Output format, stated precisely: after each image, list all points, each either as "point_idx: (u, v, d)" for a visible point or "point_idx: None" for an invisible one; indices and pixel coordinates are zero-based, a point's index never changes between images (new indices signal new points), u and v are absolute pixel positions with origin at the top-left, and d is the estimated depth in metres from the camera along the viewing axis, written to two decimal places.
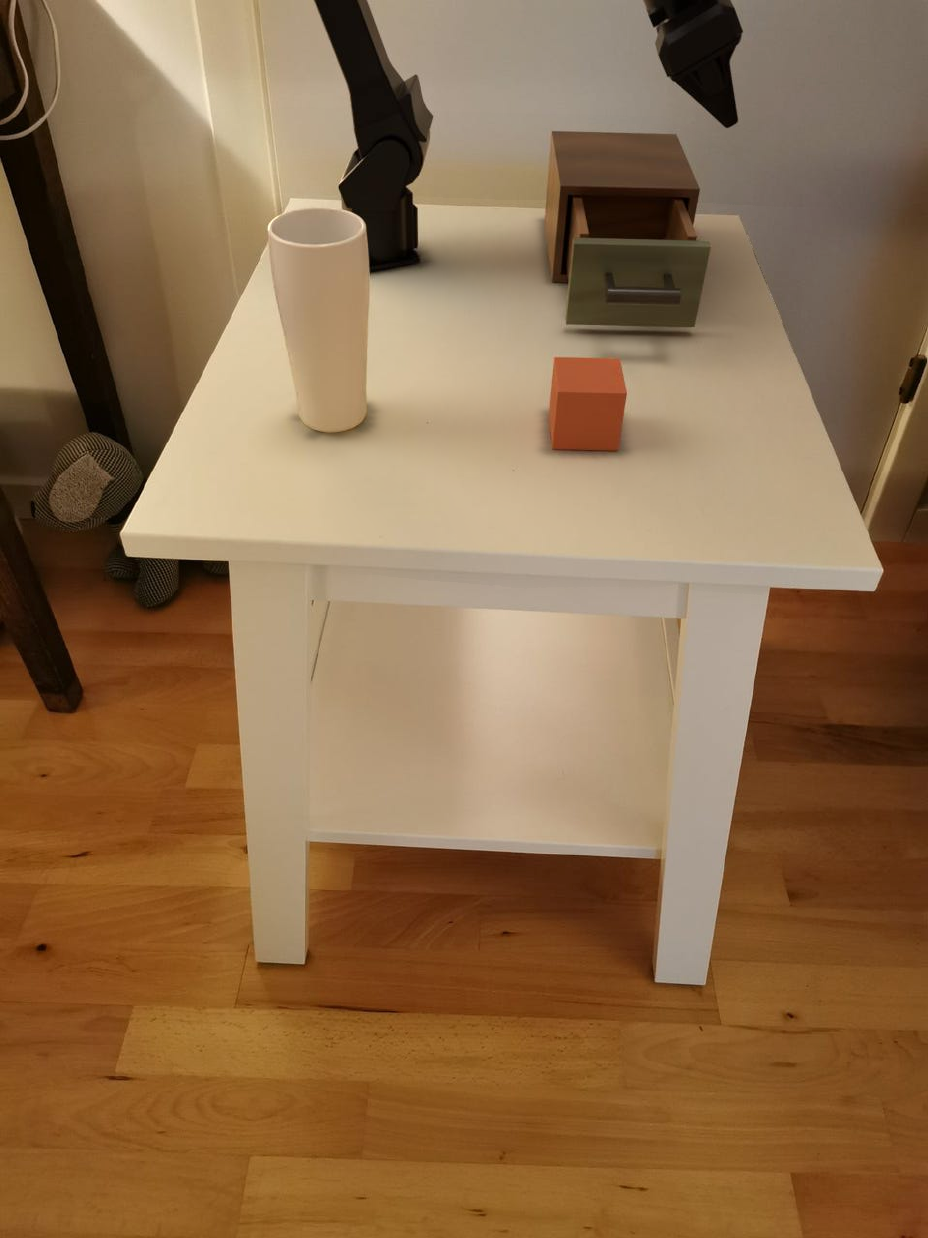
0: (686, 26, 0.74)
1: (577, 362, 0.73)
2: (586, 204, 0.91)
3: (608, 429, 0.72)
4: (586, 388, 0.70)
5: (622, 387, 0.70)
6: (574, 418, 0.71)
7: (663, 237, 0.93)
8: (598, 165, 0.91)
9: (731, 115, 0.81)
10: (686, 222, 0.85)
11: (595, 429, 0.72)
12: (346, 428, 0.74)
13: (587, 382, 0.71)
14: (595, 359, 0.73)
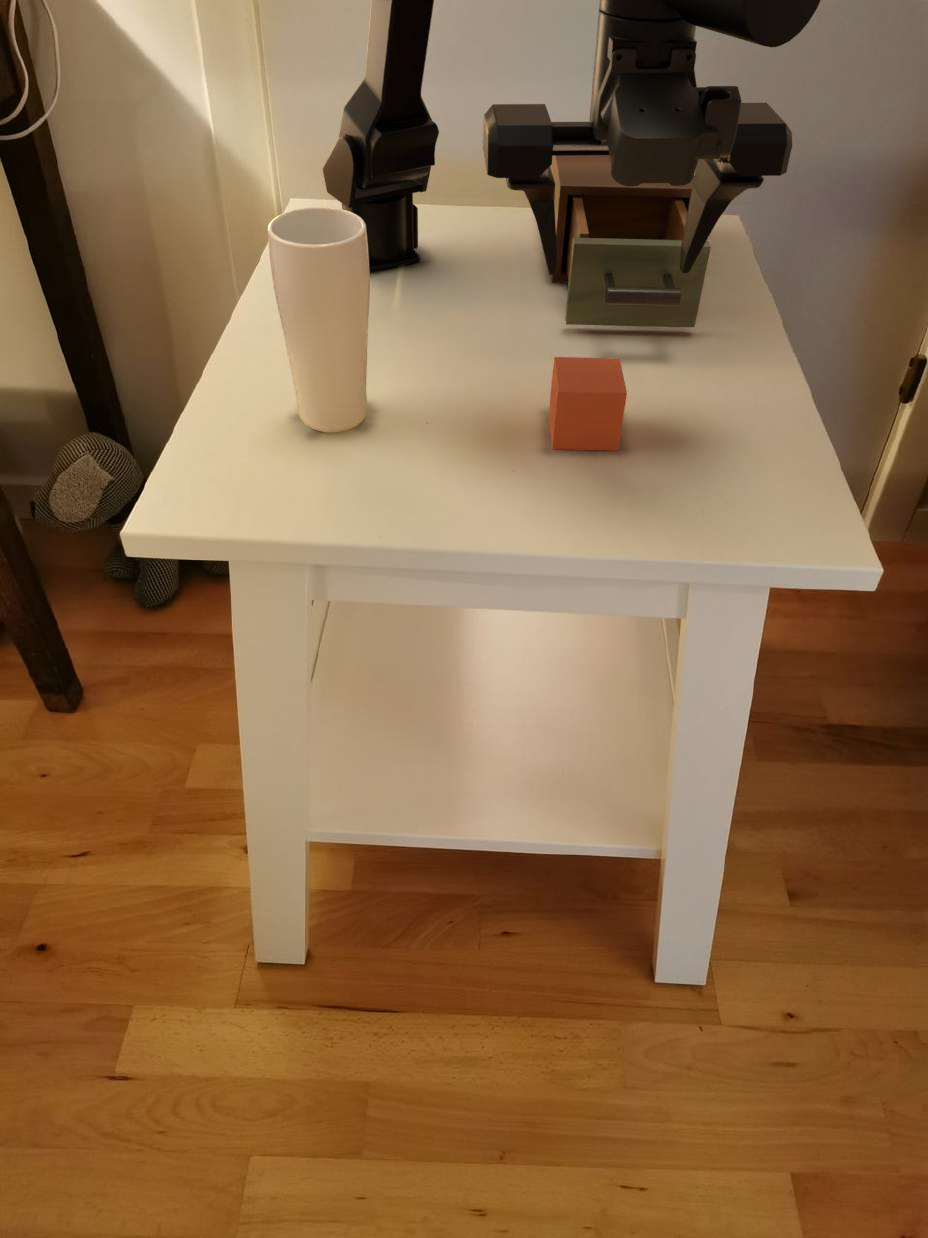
0: (491, 115, 0.60)
1: (577, 362, 0.73)
2: (586, 204, 0.91)
3: (608, 429, 0.72)
4: (586, 388, 0.70)
5: (622, 387, 0.70)
6: (574, 418, 0.71)
7: (663, 237, 0.93)
8: (598, 165, 0.91)
9: None
10: None
11: (595, 429, 0.72)
12: (346, 428, 0.74)
13: (587, 382, 0.71)
14: (595, 359, 0.73)
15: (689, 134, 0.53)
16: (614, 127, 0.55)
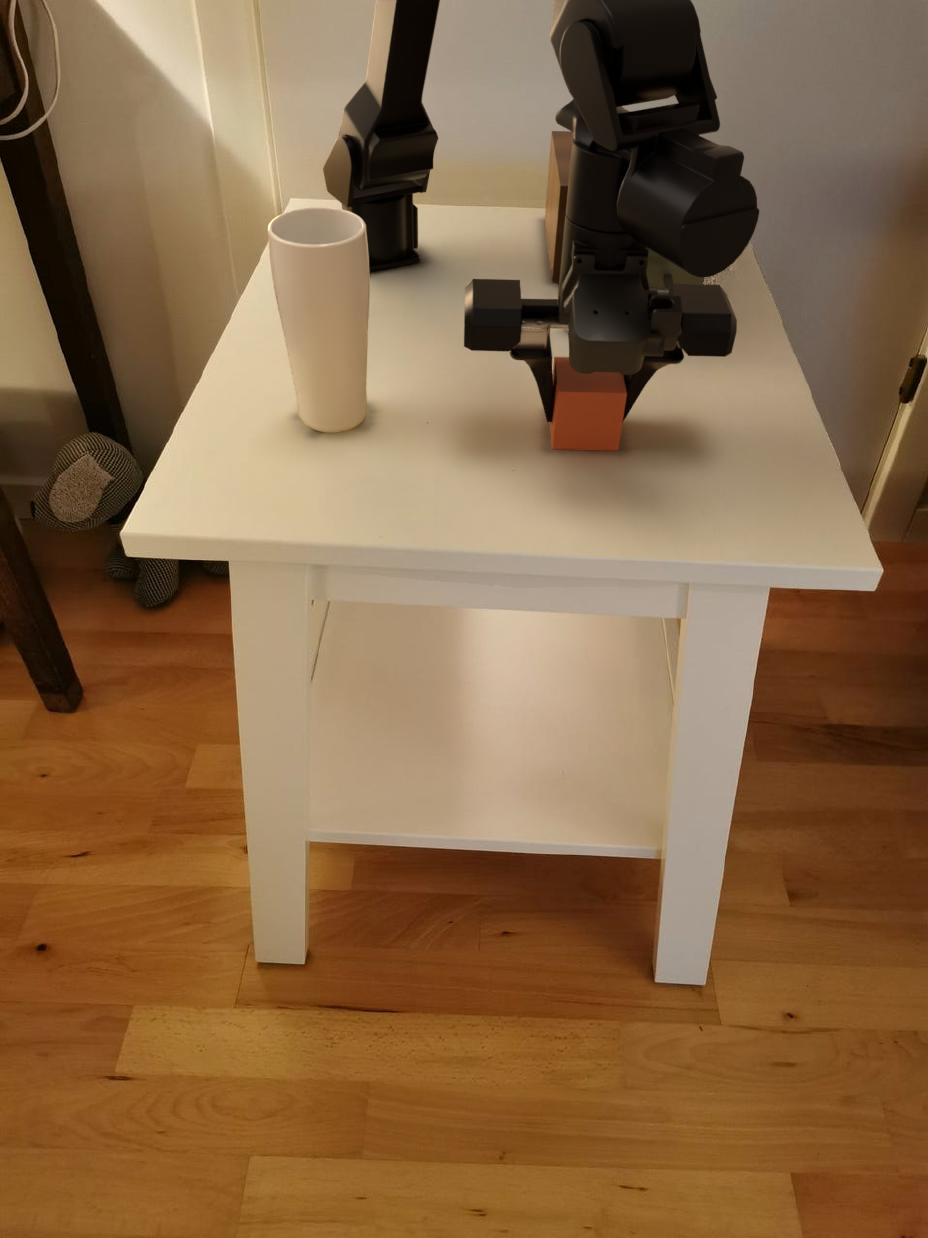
0: (470, 291, 0.68)
1: None
2: None
3: (608, 429, 0.72)
4: (586, 388, 0.70)
5: (622, 387, 0.70)
6: (574, 418, 0.71)
7: None
8: None
9: None
10: None
11: (595, 429, 0.72)
12: (346, 428, 0.74)
13: (587, 382, 0.71)
14: None
15: (635, 338, 0.61)
16: (572, 323, 0.62)
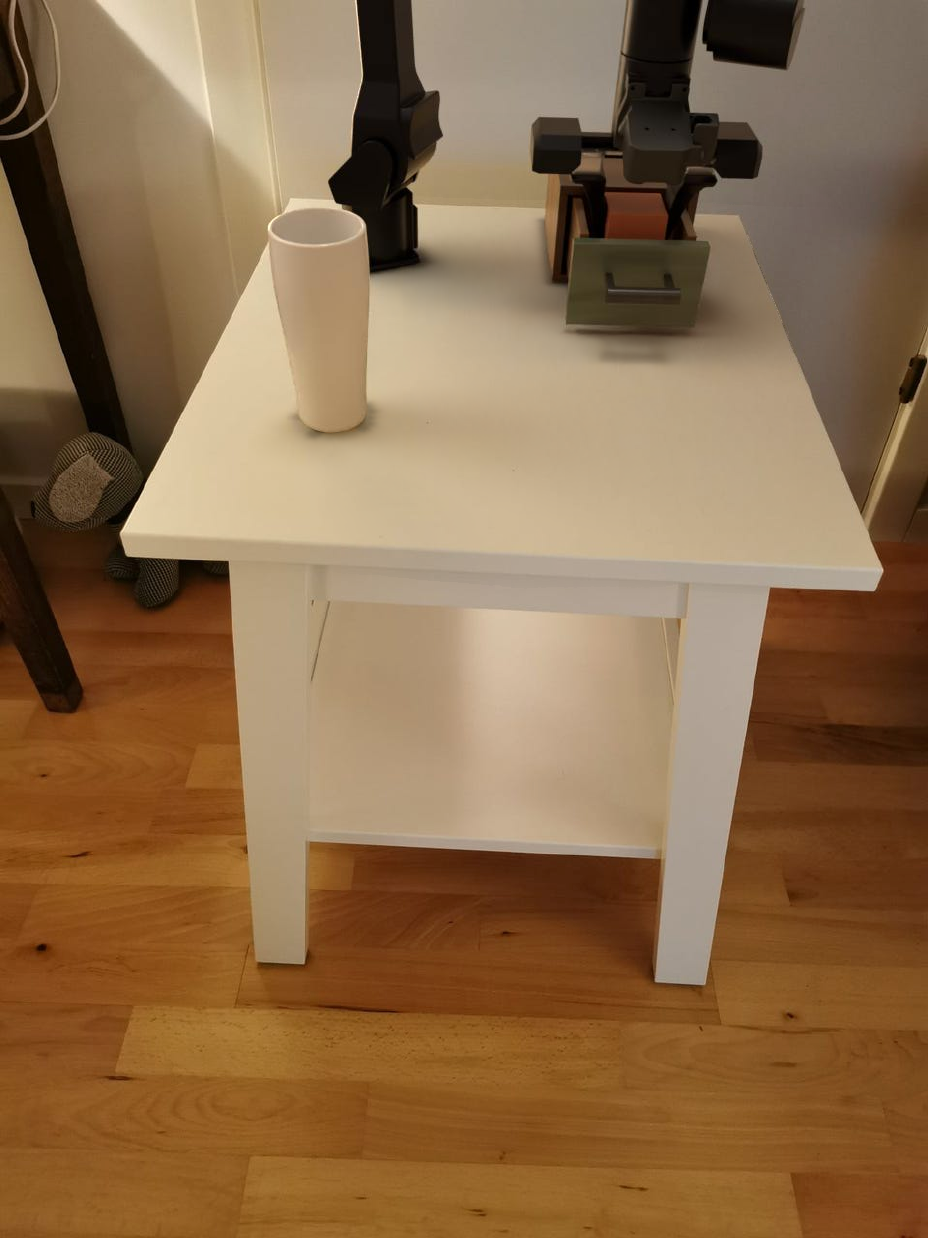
0: (537, 125, 0.80)
1: (624, 196, 0.85)
2: (586, 204, 0.91)
3: None
4: (633, 212, 0.83)
5: (664, 212, 0.83)
6: None
7: None
8: None
9: None
10: (686, 222, 0.85)
11: None
12: (346, 428, 0.74)
13: (634, 208, 0.83)
14: (640, 193, 0.86)
15: (680, 148, 0.73)
16: (626, 140, 0.75)
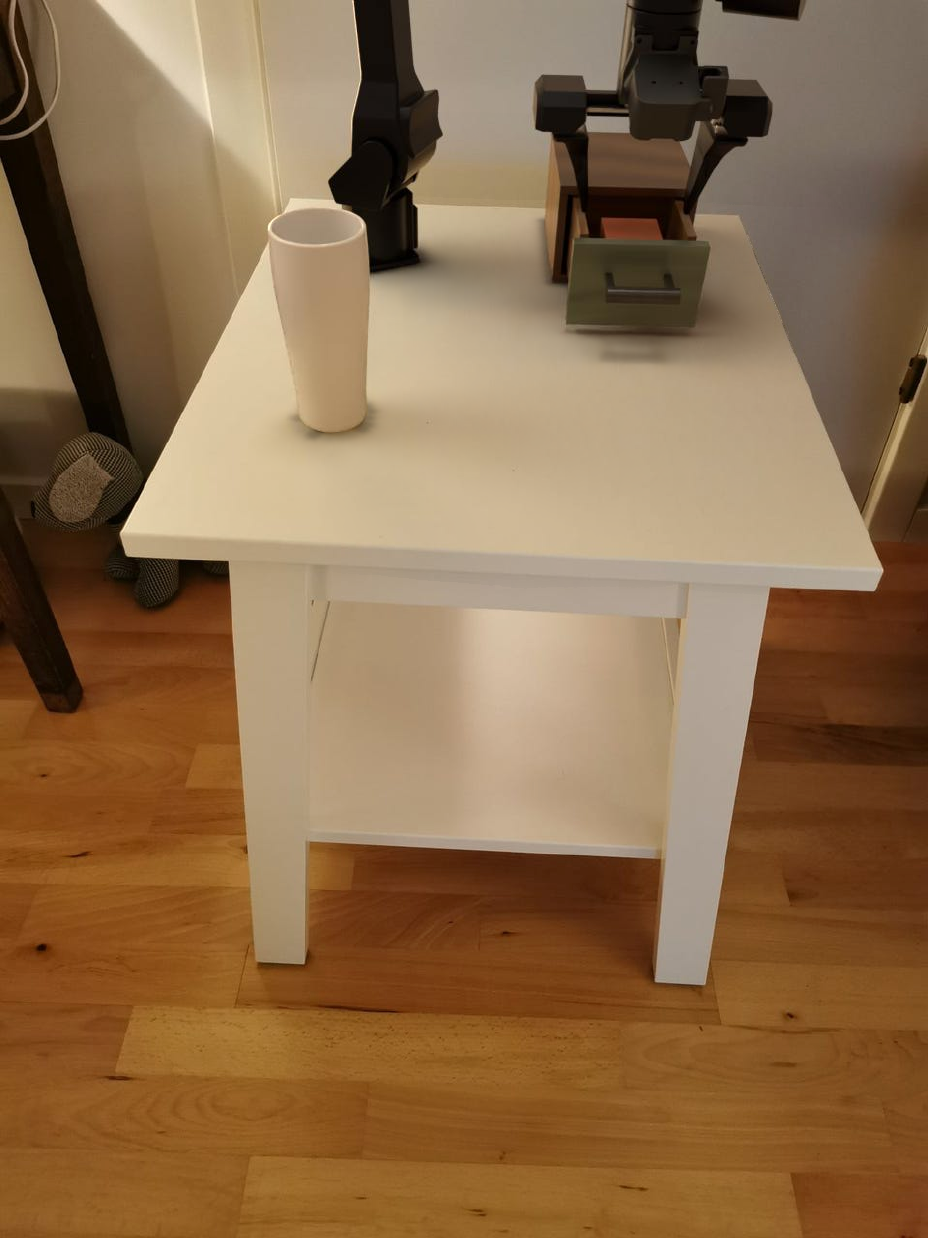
0: (540, 83, 0.78)
1: (621, 221, 0.87)
2: None
3: None
4: (630, 238, 0.84)
5: (660, 238, 0.84)
6: None
7: (663, 237, 0.93)
8: (598, 165, 0.91)
9: None
10: (686, 222, 0.85)
11: None
12: (346, 428, 0.74)
13: (630, 234, 0.85)
14: (636, 219, 0.87)
15: (689, 101, 0.71)
16: (633, 94, 0.73)
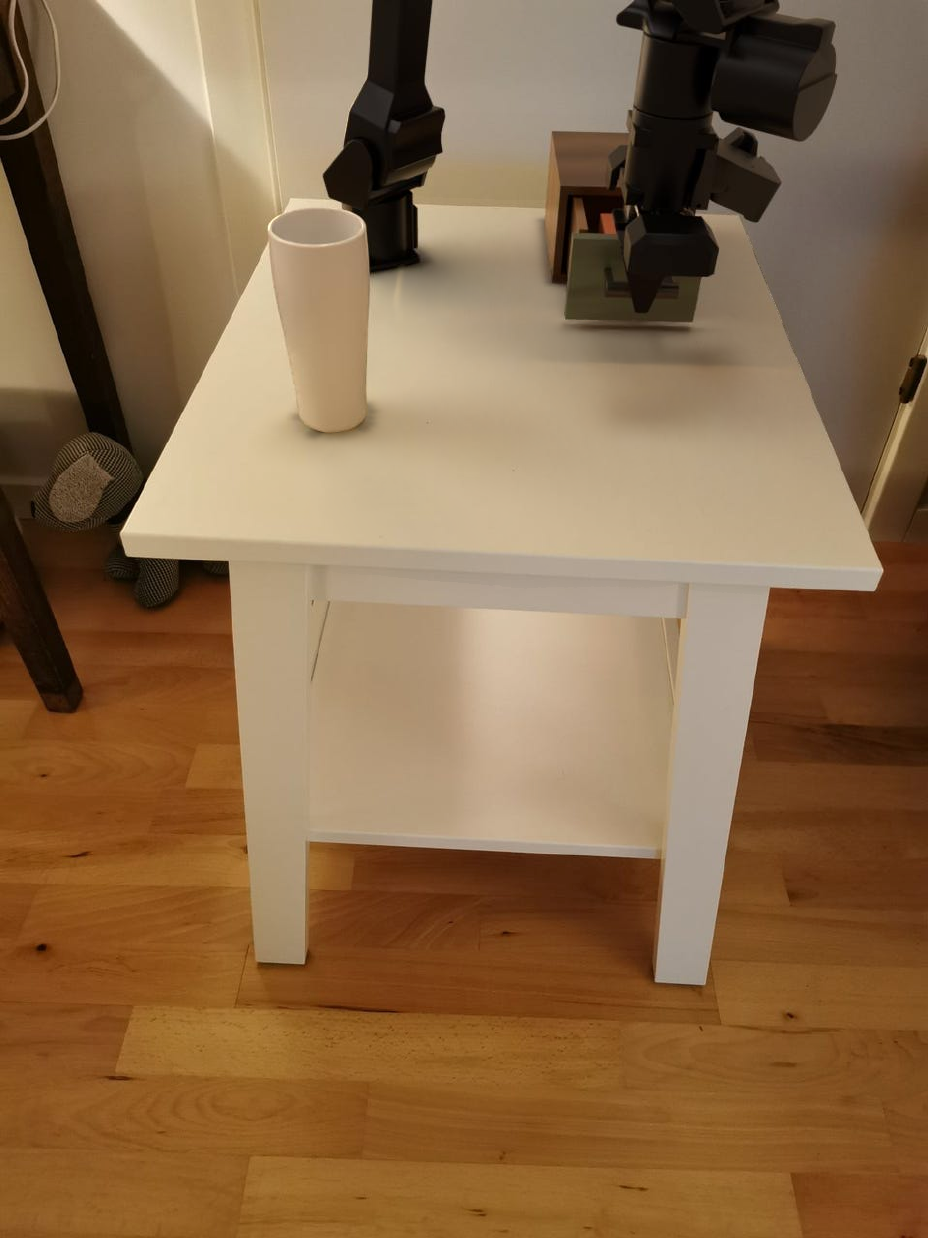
0: (670, 237, 0.67)
1: None
2: (585, 200, 0.91)
3: None
4: None
5: None
6: None
7: None
8: (598, 165, 0.91)
9: (645, 304, 0.79)
10: None
11: None
12: (346, 428, 0.74)
13: None
14: None
15: (770, 165, 0.73)
16: (749, 187, 0.71)
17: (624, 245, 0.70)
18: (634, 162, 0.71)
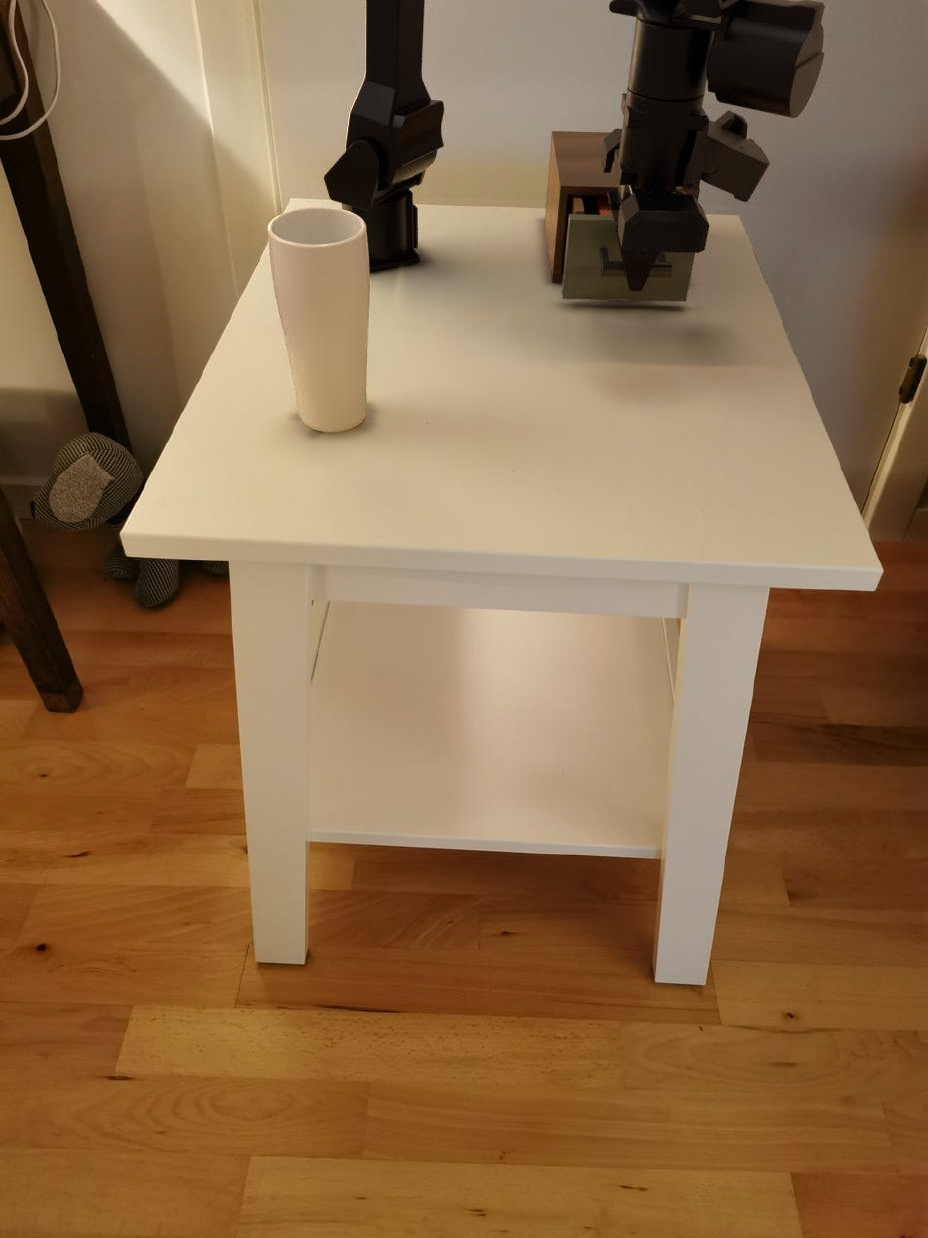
0: (662, 214, 0.70)
1: None
2: None
3: None
4: None
5: None
6: None
7: None
8: (598, 165, 0.91)
9: (639, 282, 0.82)
10: None
11: None
12: (346, 428, 0.74)
13: None
14: None
15: (759, 147, 0.76)
16: (739, 167, 0.74)
17: (618, 223, 0.73)
18: (628, 143, 0.73)
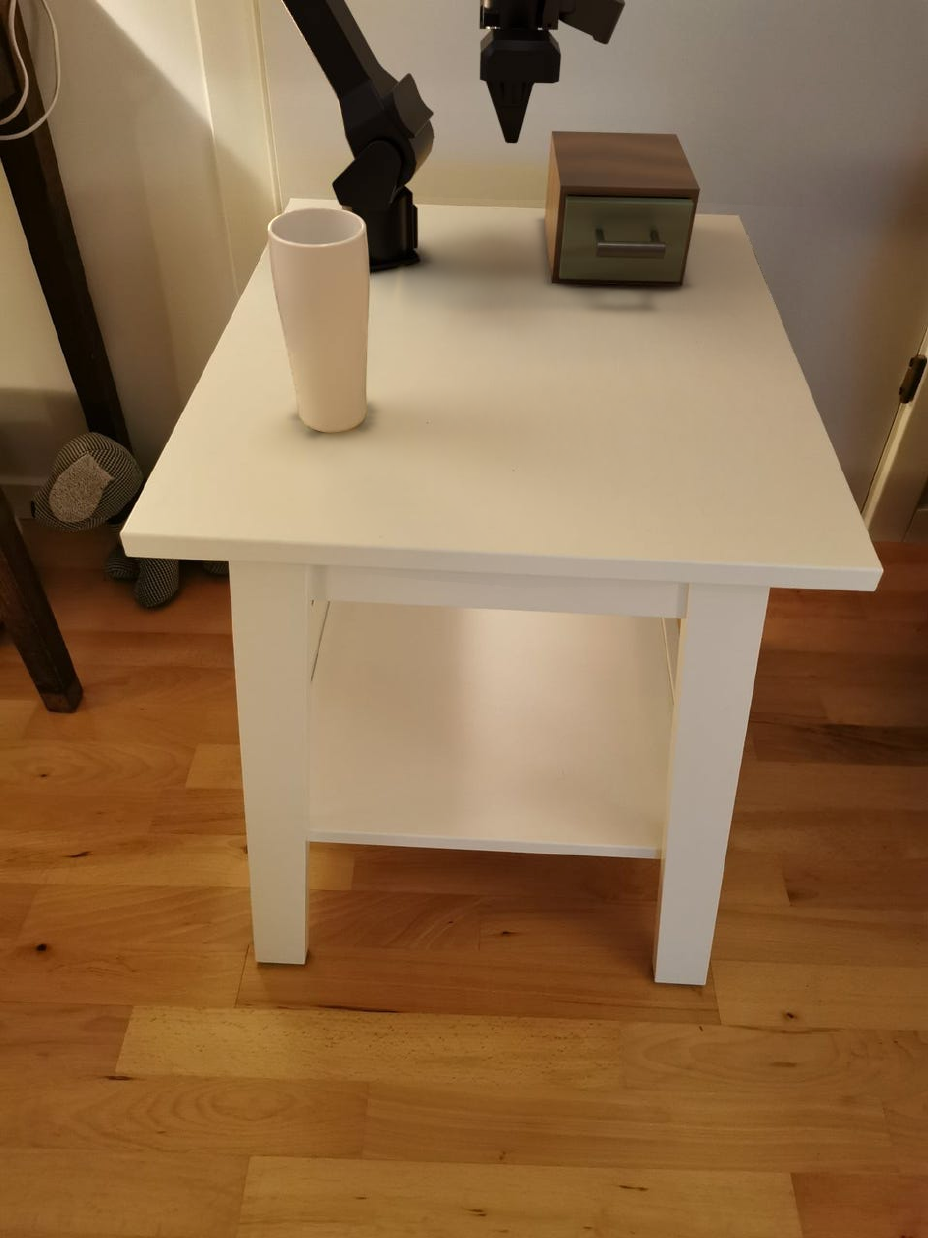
0: (515, 43, 0.73)
1: None
2: None
3: None
4: None
5: None
6: None
7: None
8: (598, 165, 0.91)
9: (514, 133, 0.86)
10: None
11: None
12: (346, 428, 0.74)
13: None
14: None
15: None
16: (595, 7, 0.77)
17: None
18: None
